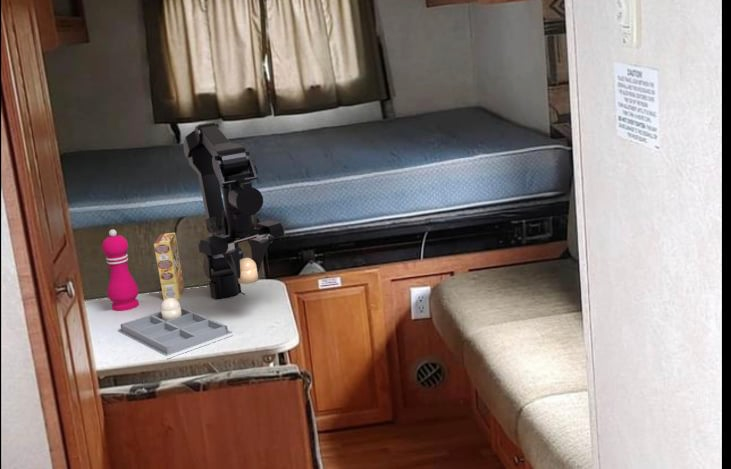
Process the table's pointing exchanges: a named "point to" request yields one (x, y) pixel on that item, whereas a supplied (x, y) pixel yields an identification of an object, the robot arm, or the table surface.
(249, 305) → the table surface
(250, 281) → the beige rounded piece
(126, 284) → the pepper mill
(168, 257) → the candy box
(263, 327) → the table surface
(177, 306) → the cream egg
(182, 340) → the grey compartment tray
